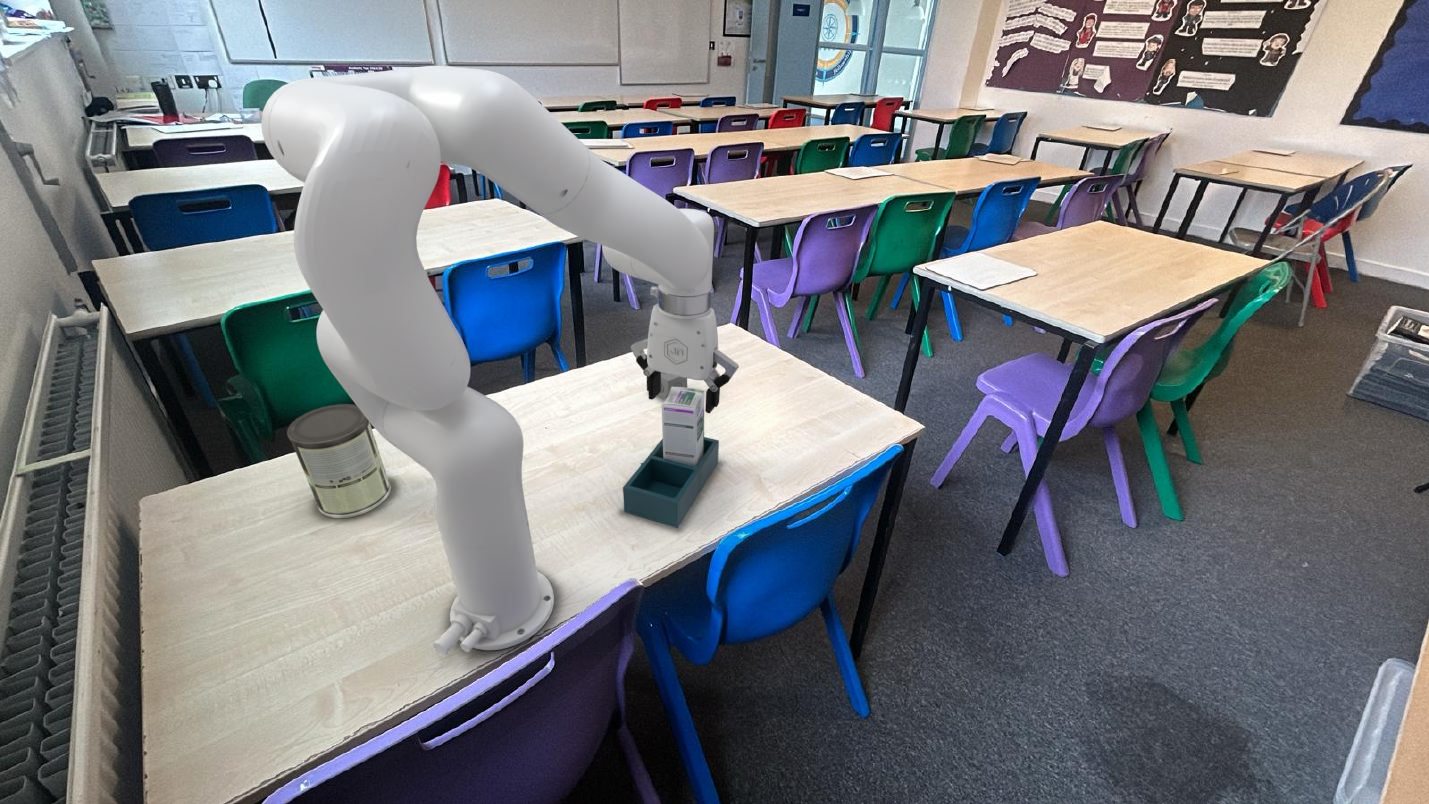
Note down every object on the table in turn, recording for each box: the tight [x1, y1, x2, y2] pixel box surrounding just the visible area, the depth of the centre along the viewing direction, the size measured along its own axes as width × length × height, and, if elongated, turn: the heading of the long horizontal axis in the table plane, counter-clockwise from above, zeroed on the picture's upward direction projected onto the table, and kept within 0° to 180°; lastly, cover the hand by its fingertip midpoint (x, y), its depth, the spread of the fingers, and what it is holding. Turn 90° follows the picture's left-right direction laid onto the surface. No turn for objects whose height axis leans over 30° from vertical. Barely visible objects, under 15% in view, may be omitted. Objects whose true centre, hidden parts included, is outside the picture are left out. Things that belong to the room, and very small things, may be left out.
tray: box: [622, 436, 720, 529], centre depth 99 cm, size 17×9×5 cm, turn 159°
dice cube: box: [656, 372, 688, 401], centre depth 124 cm, size 5×5×5 cm
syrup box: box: [661, 387, 705, 467], centre depth 99 cm, size 6×6×14 cm
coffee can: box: [286, 403, 392, 519], centre depth 92 cm, size 10×10×14 cm
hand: (682, 402), depth 95 cm, fingers open, 9 cm apart
